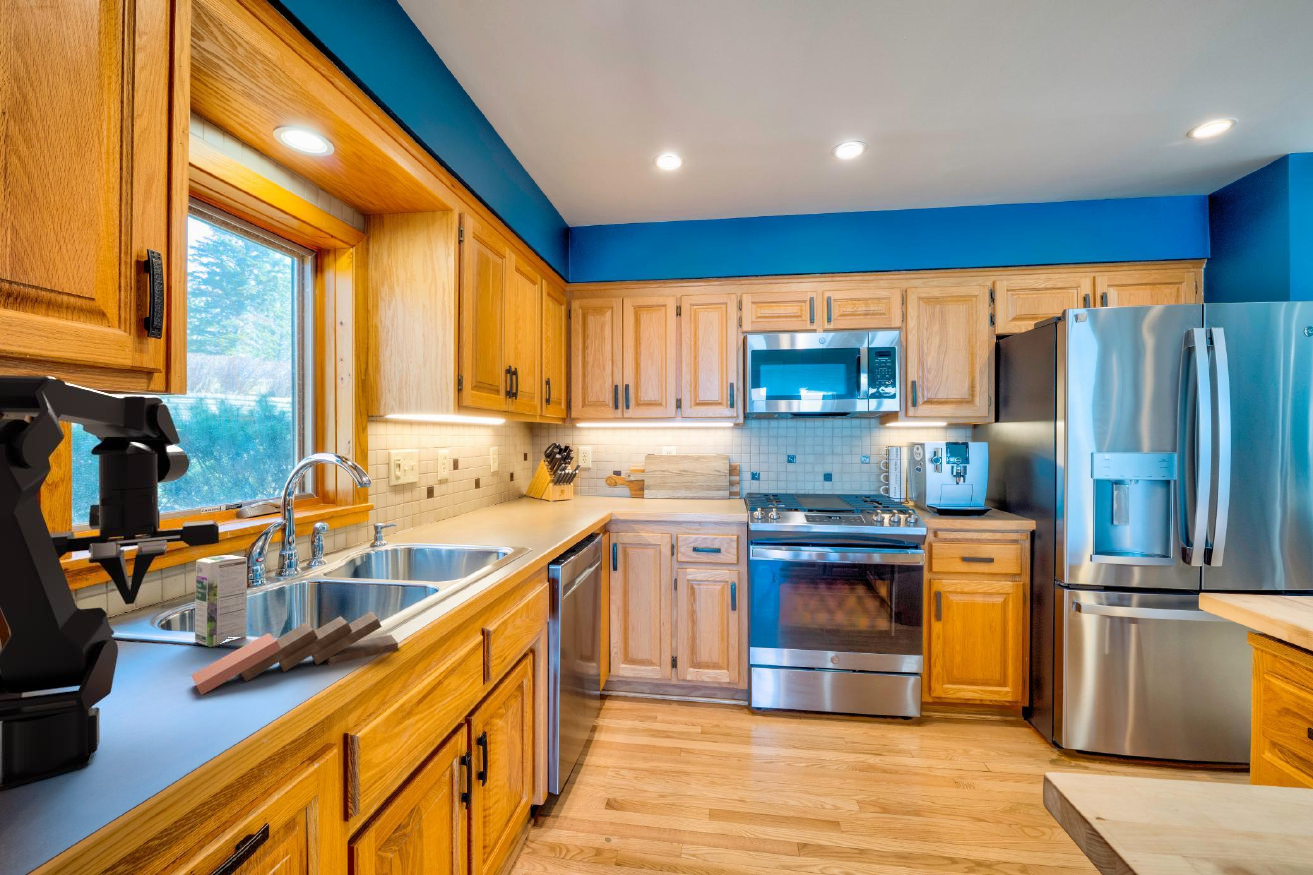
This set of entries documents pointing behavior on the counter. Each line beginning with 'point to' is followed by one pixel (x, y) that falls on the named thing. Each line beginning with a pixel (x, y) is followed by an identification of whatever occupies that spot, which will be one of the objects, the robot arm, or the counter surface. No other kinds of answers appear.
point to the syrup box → (220, 599)
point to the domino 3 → (318, 642)
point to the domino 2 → (283, 649)
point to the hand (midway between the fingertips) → (130, 603)
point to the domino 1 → (235, 663)
